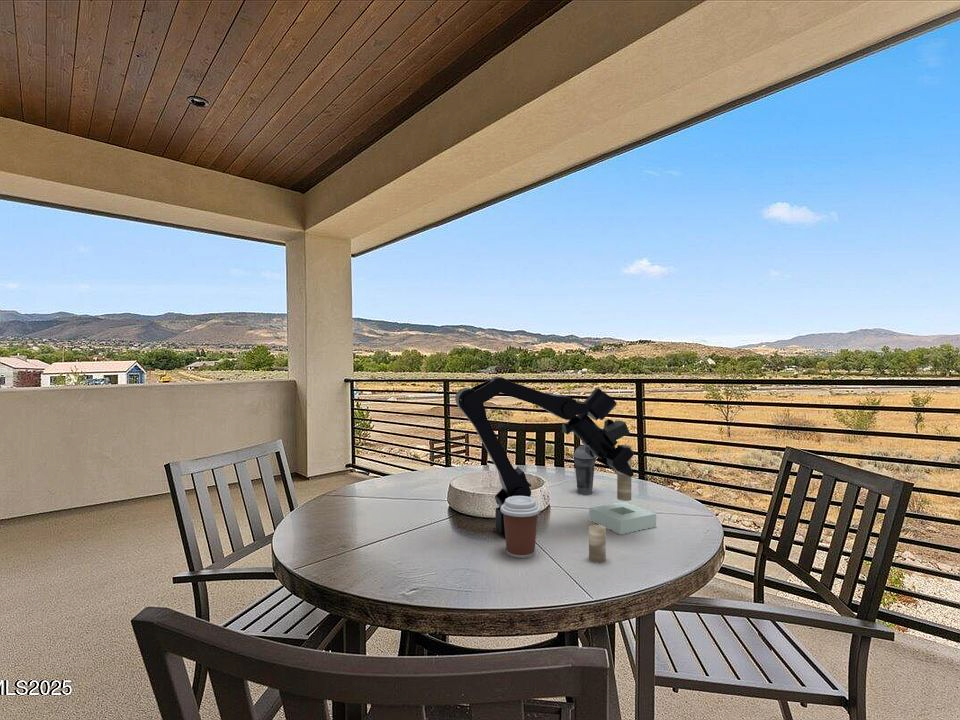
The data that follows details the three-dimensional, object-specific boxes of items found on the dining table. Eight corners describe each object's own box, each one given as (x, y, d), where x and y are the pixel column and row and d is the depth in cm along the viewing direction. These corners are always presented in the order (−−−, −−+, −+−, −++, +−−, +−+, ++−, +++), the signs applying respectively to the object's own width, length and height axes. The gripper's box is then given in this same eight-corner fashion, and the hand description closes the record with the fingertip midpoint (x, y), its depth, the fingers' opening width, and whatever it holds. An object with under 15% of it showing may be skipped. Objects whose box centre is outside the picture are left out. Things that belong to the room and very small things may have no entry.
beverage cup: (594, 490, 165) (594, 430, 164) (597, 496, 157) (597, 433, 157) (572, 489, 165) (572, 429, 165) (574, 495, 158) (574, 433, 158)
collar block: (620, 534, 124) (620, 520, 124) (589, 520, 135) (589, 507, 134) (656, 527, 129) (656, 513, 129) (623, 514, 140) (623, 501, 140)
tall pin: (630, 501, 128) (630, 447, 128) (615, 499, 130) (616, 446, 130) (632, 498, 132) (632, 445, 132) (618, 496, 133) (618, 444, 133)
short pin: (596, 563, 107) (596, 531, 107) (585, 557, 110) (585, 526, 110) (609, 560, 108) (609, 528, 108) (598, 554, 111) (598, 523, 111)
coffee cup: (493, 548, 115) (493, 497, 115) (528, 542, 119) (527, 492, 119) (512, 563, 107) (512, 508, 107) (548, 556, 111) (548, 502, 111)
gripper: (626, 415, 121) (668, 458, 123) (595, 407, 139) (632, 445, 141) (596, 448, 120) (638, 492, 122) (568, 436, 138) (606, 474, 140)
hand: (628, 473), depth 131 cm, fingers closed on tall pin, 4 cm apart
